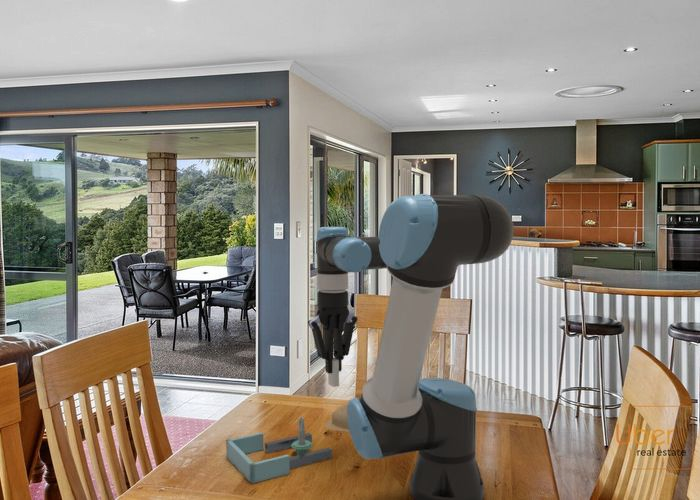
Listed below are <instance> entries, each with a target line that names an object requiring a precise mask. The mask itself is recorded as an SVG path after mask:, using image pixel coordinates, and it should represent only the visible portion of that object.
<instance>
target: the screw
mask: <svg viewBox="0 0 700 500" xmlns="http://www.w3.org/2000/svg"><path fill="white" fill-rule="evenodd" d="M297 430H298V431H297V433H298V434H297V436H298V435H299V436H298V437H299V439H298V440H297V441H295V442H293V443H292V445H291V448H292V449H293V450H294V451H295V454H296V456H297V455H301V454H305V453H309V450H310V449H311V448H312V447H313V442H312V443H311V442H310V441H308V440H305V434H306V427H305V417H303V416H300V417H299V418H298V429H297Z"/></svg>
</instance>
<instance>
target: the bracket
mask: <svg viewBox="0 0 700 500" xmlns="http://www.w3.org/2000/svg"><path fill="white" fill-rule="evenodd" d="M225 442H226V445H225V446H226V448H225V450H226V457H227V459H228V460H229V461H230V462H231V463H232V464H233V465H234V467H235V468H237V469H238V471H239V472H240V473H241V474H242V476H244V478H246V480H248V481H249V483H250V484H255V483H260V482H263V481H266V480H270V479H274V478H278V477H283V476H285V475H289V474H290V469H289V457H290V455H288V454H284V455H280V456H276V457H273V458H272V457H271V458H269V459H263V460H259V461H255V462H253V460H251V459H250V458H249V457H248V456H247V455H246V454H251V453H255V452H260V451H262V450H264V451H265V445H264V433H263V432H257V433H253V434H248V435H243V436H240V437H239V436H238V437H234V438H230V439H229V438H228V439H227V440H225Z"/></svg>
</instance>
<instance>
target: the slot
mask: <svg viewBox="0 0 700 500" xmlns="http://www.w3.org/2000/svg"><path fill="white" fill-rule="evenodd" d="M298 436H299V435H298V434H297V435H294V436H290V437H285V438H281V439H276V440H272V441H269V442H265V443H264V451H265V453H267V454H270V453H274V452H279V451H282V450H287V449H290V448H292V447H291V445H292V443H293V442H295V441H297V440H298V439H299V437H298ZM305 440H308V441H310V442H311V443H312V444H313V434H312V433H310V432H305ZM330 459H333V449H332V448H330V447H325V448H321V449H317V450H313V451H308V453H305V454H301V455H297V454H296V455H294V456H289V469H294V468H298V467H304V466H306V465H311V464H314V463H318V462H322V461H326V460H330Z"/></svg>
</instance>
